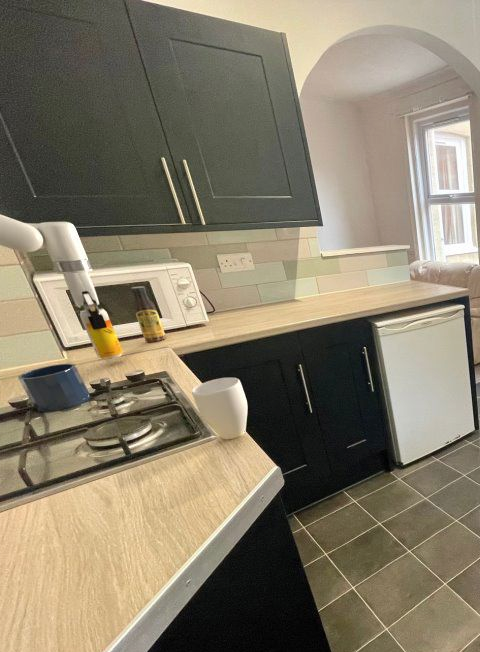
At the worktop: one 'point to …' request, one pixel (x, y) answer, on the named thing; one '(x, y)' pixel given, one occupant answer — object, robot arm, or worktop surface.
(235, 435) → the mug
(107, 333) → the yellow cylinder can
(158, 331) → the sauce bottle
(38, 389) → the crock
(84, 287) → the robot arm
